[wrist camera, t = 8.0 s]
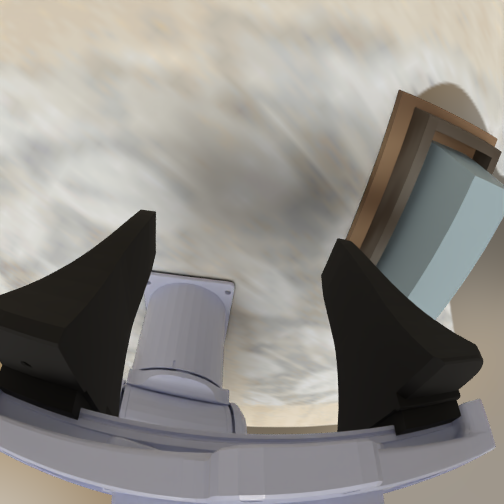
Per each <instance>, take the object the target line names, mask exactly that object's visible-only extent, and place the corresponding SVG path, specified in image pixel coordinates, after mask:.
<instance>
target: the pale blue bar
mask: <svg viewBox="0 0 504 504" xmlns="http://www.w3.org/2000/svg"><path fill="white" fill-rule="evenodd" d="M503 216H504V185H503V184H502V183H501V182H500V181H498V180H497V179H496V178H495V177H494V176H493V175H491V174H490V173H489V172H488V171H486V170H485V169H484V168H483V167H481V166H480V165H479V164H478V163H476V162H475V161H474V160H472V159H471V158H470V157H468V156H467V155H465V154H463V153H461V152H459V151H457V150H455V149H452V148H450V147H448V146H445V145H443V144H441V143H438V142H436V141H433V140H432V142H431V145H430V148H429V150H428V153H427V155H426V158H425V161H424V163H423V166H422V168H421V171H420V173H419V176H418V178H417V180H416V183H415V185H414V187H413V190H412V192H411V194H410V197H409V199H408V201H407V203H406V206H405V208H404V210H403V212H402V214H401V217H400V219H399V221H398V223H397V225H396V227H395V229H394V231H393V233H392V236H391V238H390V240H389V242H388V244H387V246H386V248H385V250H384V252H383V254H382V256H381V257H380V259H379V261H378V263H377V265H376V267H377V268H378V269H379V270H380V271H381V272H382V273H383V274H384V275H385V276H386V277H387V278H388V279H389V281H390V282H391V283H392V284H393V285H395V286H396V287H397V288H398V289H399V290H400V291H401V292H402V293H403V294H404V295H405V296H406V297H407V298H408V299H409V300H411V301H412V302H413V303H414V304H415V305H416V306H417V307H419V308H420V309H421V310H422V311H424V312H425V313H426V314H428V315H429V316H430V317H432V318H433V319H434V320H436V318H437V317H438V316H439V315H440V313H441V312H442V311H443V309H444V308H445V307H446V305H447V304H448V303H449V301H450V300H451V299H452V297H453V296H454V295H455V293H456V292H457V290H458V289H459V288H460V286H461V285H462V283H463V282H464V280H465V279H466V277H467V276H468V275H469V273H470V272H471V270H472V269H473V267H474V265H475V264H476V262H477V261H478V259H479V258H480V256H481V254H482V252H483V251H484V249H485V248H486V246H487V245H488V243H489V241H490V240H491V238H492V236H493V234H494V233H495V231H496V229H497V227H498V225H499V223H500V222H501V220H502V218H503Z"/></svg>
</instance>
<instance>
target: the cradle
mask: <svg viewBox="0 0 504 504" xmlns="http://www.w3.org/2000/svg"><path fill="white" fill-rule="evenodd" d="M432 140H433V141H436V142H438V143H441V144H443V145H445V146H448V147H450V148H452V149H455V150H457V151H459V152H461V153H463V154H465V155H467V156H468V157H470V158H471V159H472V160H474V161H475V162H476V163H478V164H479V165H480V166H481V167H483V168H484V169H485V170H486V171H488V172H489V173H490V174H491V175H492V173H493V171H494V169H495V167H496V164H497V162H498V159H499V157H500V155H501V151H500V150H498V149H497V148H495V144H496V142H497V138H495V137H493V136H492V135H490V134H488V133H487V132H485V131H483V130H481V129H480V128H478V127H476V126H474V125H473V124H471V123H469V122H467V121H465V120H464V119H462V118H460V117H458V116H456V115H454V114H452V113H450V112H448V111H446V110H444V109H442V108H440V107H438V106H436V105H433V104H431V103H429V102H427V101H425V100H422V99H420V98H418V97H416V96H413V95H411V94H408V93H406V92H403V91H401V90H399V92H398V95H397V99H396V102H395V105H394V108H393V112H392V115H391V118H390V121H389V124H388V127H387V130H386V133H385V137H384V140H383V142H382V145H381V148H380V151H379V154H378V157H377V160H376V163H375V165H374V168H373V171H372V174H371V176H370V179H369V182H368V185H367V187H366V190H365V193H364V195H363V198H362V200H361V203H360V206H359V208H358V211H357V213H356V216H355V218H354V221H353V223H352V226H351V228H350V230H349V233H348V235H347V238H346V240H349V241H352V242H353V243H354V244H355V245H356V246H357V247H358V248H359V249H360V250H361V251H362V252H363V253H364V254H365V255H366V256H367V257H368V258H369V259H370V260H371V262H372V263H373V264H374V265H375V266H376V265H377V263H378V261H379V259H380V257H381V256H382V254H383V252H384V250H385V248H386V246H387V244H388V242H389V240H390V238H391V236H392V233H393V231H394V229H395V227H396V225H397V223H398V221H399V219H400V217H401V214H402V212H403V210H404V208H405V206H406V203H407V201H408V199H409V197H410V194H411V192H412V190H413V187H414V185H415V183H416V180H417V178H418V176H419V173H420V171H421V168H422V166H423V163H424V161H425V158H426V155H427V153H428V150H429V148H430V145H431V142H432Z"/></svg>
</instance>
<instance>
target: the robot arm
mask: <svg viewBox="0 0 504 504" xmlns="http://www.w3.org/2000/svg"><path fill="white" fill-rule="evenodd" d="M155 254H156V212H155V211H147V210H140V211H139V212H137V213H136V214H135V215H134V216H132V217H131V218H130V219H129V220H128V221H126V222H125V223H124V224H123V225H122V226H120V227H119V228H118V229H117V230H116V231H114V232H113V233H112V234H111V235H110V236H108V237H107V238H106V239H104V240H103V241H102V242H100V243H99V244H98V245H97V246H95V247H94V248H93V249H91V250H90V251H88V252H87V253H85V254H84V255H83V256H81V257H79V258H78V259H76V260H75V261H73V262H72V263H70V264H68V265H66V266H65V267H63V268H61V269H59V270H57V271H55V272H54V273H52V274H50V275H48V276H46V277H44V278H42V279H40V280H38V281H35V282H33V283H31V284H29V285H26V286H24V287H21V288H19V289H16V290H13V291H10V292H8V293H5V294H2V295H0V362H1V363H2V367H1V370H0V452H2V453H4V454H6V455H8V456H10V457H12V458H14V459H16V460H18V461H20V462H22V463H24V464H26V465H29V466H31V467H33V468H35V469H38V470H40V471H42V472H45V473H47V474H50V475H52V476H55V477H57V478H60V479H63V480H66V481H68V482H71V483H74V484H77V485H80V486H83V487H86V488H89V489H92V490H96V491H99V492H103V493H107V494H110V495H112V503H111V504H384V498H383V494H384V493H388V492H391V491H394V490H398V489H401V488H404V487H408V486H411V485H414V484H417V483H420V482H422V481H425V480H428V479H431V478H433V477H436V476H439V475H441V474H444V473H446V472H449V471H451V470H454V469H456V468H458V467H460V466H462V465H464V464H466V463H468V462H470V461H473V460H474V459H476V458H478V457H480V456H482V455H484V454H486V453H488V452H489V451H491V450H493V449H494V448H495V447H496V446H495V442H494V439H493V435H492V432H491V429H490V425H489V423H488V419H487V416H486V413H485V410H484V407H483V404H482V401H481V399H476V400H473V401H469V402H466V403H463V404H461V405H459V406H458V403H457V400H458V399H459V398H460V393H459V389H460V388H461V387H462V386H463V385H465V384H466V383H467V382H468V381H469V380H471V379H472V378H473V377H474V376H475V375H476V374H477V373H478V372H479V370H480V369H481V367H482V365H483V358H482V356H481V354H480V352H479V350H478V348H477V346H476V345H475V344H473V343H472V342H470V341H468V340H466V339H464V338H462V337H461V336H459V335H457V334H455V333H454V332H452V331H451V330H449V329H447V328H446V327H444V326H443V325H441V324H440V323H438V322H437V321H436V320H434V319H433V318H432V317H430V316H429V315H428V314H426V313H425V312H424V311H422V310H421V309H420V308H419V307H417V306H416V305H415V304H414V303H413V302H412V301H411V300H409V299H408V298H407V297H406V296H405V295H404V294H403V293H402V292H401V291H400V290H399V289H398V288H397V287H396V286H395V285H393V284H392V283H391V282H390V281H389V279H388V278H387V277H386V276H385V275H384V274H383V273H382V272H381V271H380V270H379V269H378V268H377V267H376V266H375V265H374V264H373V263H372V262H371V260H370V259H369V258H368V257H367V256H366V255H365V254H364V253H363V252H362V251H361V250H360V249H359V248H358V247H357V246H356V245H355V244H354V243H353V242H352V241H349V240H343V239H337V241H336V243H335V246H334V248H333V250H332V252H331V255H330V257H329V259H328V261H327V264H326V266H325V268H324V270H323V273H322V275H321V278H322V289H323V297H324V302H325V306H326V310H327V314H328V318H329V323H330V327H331V331H332V335H333V340H334V345H335V350H336V360H337V371H338V393H339V411H338V430H337V432H332V433H316V434H282V435H272V434H271V435H270V434H247V428H246V421H245V418H244V415H243V413H242V412H241V411H240V408H239V407H238V406H237V405H236V404H235V403H230V402H229V390H226V389H222V382H223V357H224V343H225V337H226V332H227V327H228V321H229V316H230V310H231V305H232V300H233V294H234V289H235V285H234V283H232V282H229V281H220V280H211V279H203V278H195V277H187V276H179V275H171V274H163V273H155V272H151V271H152V267H153V263H154V258H155ZM149 281H150V282H149ZM143 294H144V297H145V305H146V315H145V319H144V322H143V326H142V330H141V334H140V338H139V342H138V346H137V350H136V354H135V359H134V363H133V367H132V369H130V370H129V374H128V379H127V383H126V380H123V379H122V378H123V371H124V365H125V359H126V353H127V348H128V343H129V338H130V334H131V329H132V326H133V322H134V319H135V316H136V313H137V310H138V308H139V305H140V302H141V299H142V297H143Z"/></svg>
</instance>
